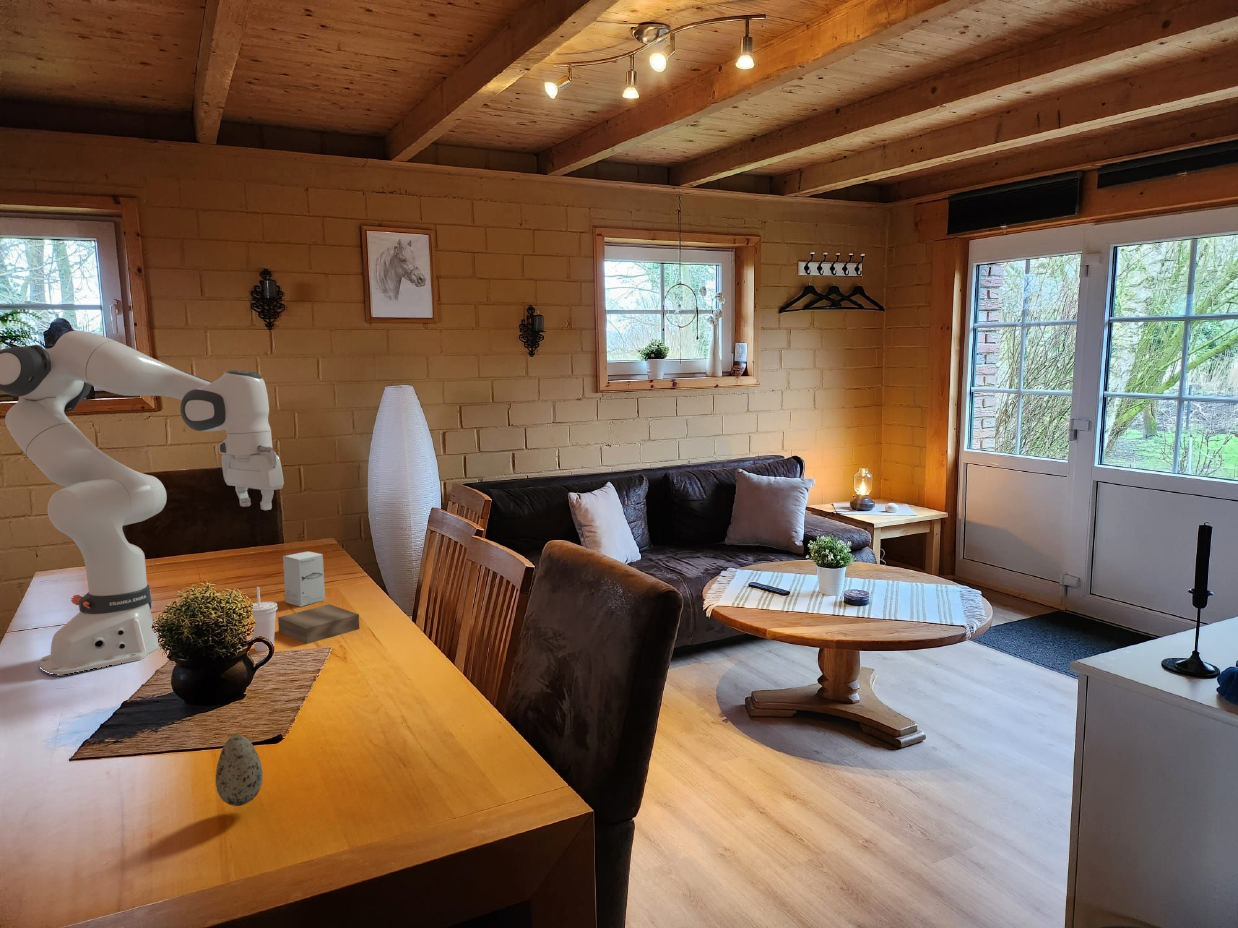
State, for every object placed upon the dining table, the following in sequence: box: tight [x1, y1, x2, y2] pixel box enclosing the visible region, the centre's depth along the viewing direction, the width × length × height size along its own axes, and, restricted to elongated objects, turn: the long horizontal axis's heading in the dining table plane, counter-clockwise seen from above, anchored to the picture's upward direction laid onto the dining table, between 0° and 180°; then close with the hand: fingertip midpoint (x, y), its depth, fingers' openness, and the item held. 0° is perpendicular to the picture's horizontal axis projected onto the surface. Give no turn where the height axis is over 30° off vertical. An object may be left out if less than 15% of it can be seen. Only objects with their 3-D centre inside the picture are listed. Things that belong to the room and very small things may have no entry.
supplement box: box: [282, 551, 326, 608], centre depth 210 cm, size 7×7×13 cm
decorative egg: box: [215, 734, 264, 807], centre depth 112 cm, size 6×6×10 cm
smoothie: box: [251, 586, 278, 653], centre depth 175 cm, size 6×6×14 cm
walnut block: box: [277, 603, 360, 645], centre depth 187 cm, size 13×13×4 cm
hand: (255, 507), depth 176 cm, fingers open, 8 cm apart
